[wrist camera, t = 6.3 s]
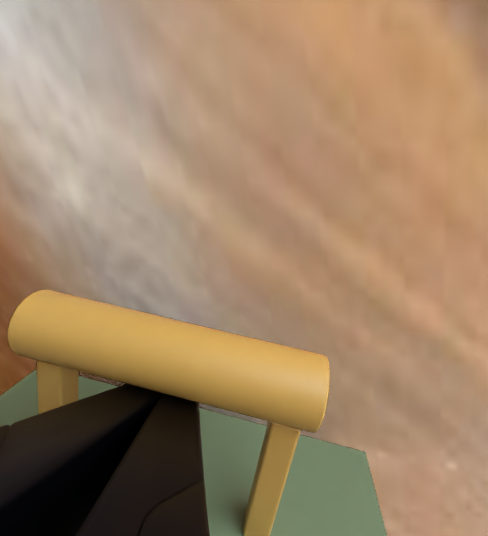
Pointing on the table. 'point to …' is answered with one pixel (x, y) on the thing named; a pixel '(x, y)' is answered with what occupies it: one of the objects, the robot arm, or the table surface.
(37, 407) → the drawer
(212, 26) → the table surface
